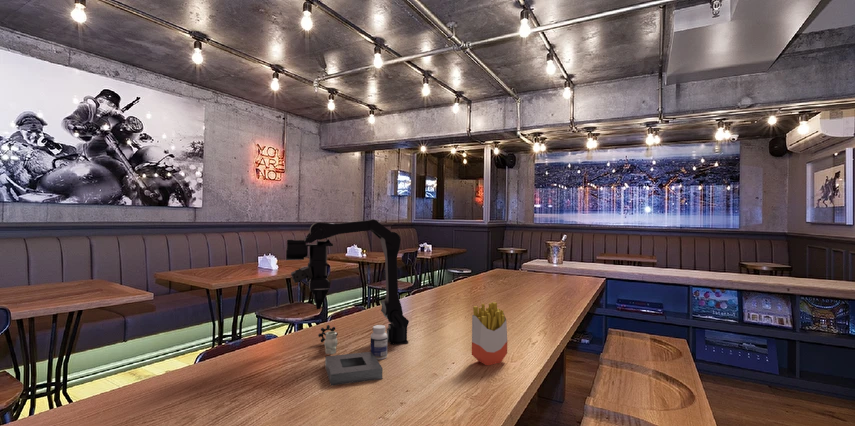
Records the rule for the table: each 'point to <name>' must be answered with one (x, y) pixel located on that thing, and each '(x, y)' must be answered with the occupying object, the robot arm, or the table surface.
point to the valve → (329, 339)
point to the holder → (352, 368)
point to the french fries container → (489, 334)
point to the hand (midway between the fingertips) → (317, 305)
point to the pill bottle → (379, 342)
